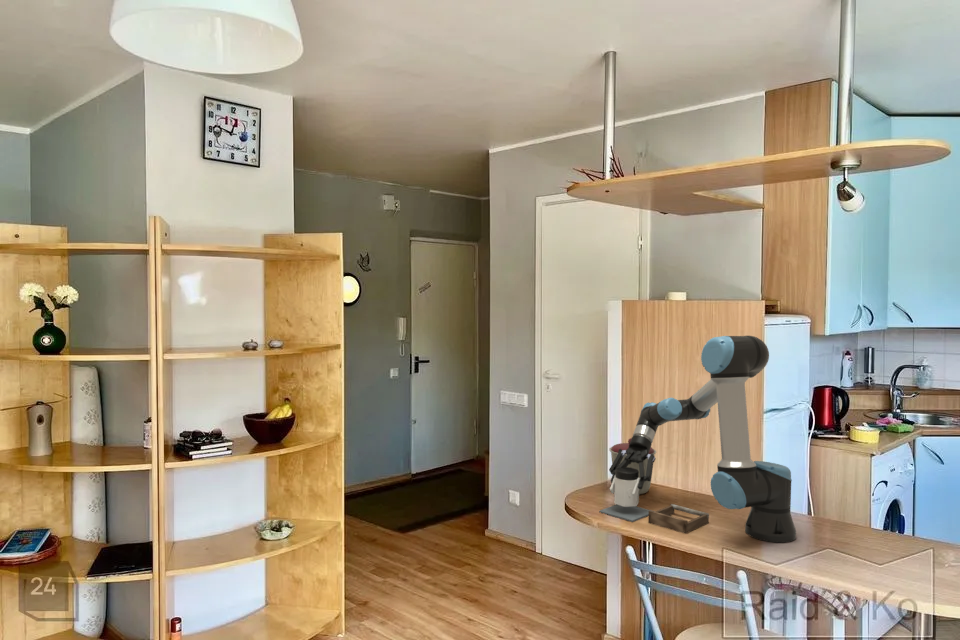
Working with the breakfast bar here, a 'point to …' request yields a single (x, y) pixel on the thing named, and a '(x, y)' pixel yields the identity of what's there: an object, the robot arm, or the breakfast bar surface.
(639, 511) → the mat
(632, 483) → the jar
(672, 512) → the jar holder
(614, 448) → the canister
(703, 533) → the breakfast bar surface
